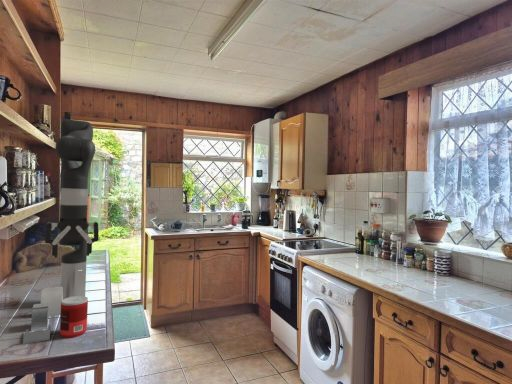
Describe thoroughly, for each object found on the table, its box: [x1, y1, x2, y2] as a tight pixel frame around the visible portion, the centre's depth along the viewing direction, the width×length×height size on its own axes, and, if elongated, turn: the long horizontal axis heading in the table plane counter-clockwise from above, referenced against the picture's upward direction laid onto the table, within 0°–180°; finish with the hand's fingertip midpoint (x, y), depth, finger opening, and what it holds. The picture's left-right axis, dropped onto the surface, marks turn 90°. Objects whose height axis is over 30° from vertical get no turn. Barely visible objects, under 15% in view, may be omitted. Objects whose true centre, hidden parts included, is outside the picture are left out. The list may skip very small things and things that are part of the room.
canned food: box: [59, 296, 89, 339], centre depth 110 cm, size 8×8×11 cm
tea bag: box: [40, 286, 63, 317], centre depth 126 cm, size 4×7×10 cm, turn 115°
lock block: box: [30, 303, 49, 332], centre depth 115 cm, size 6×5×7 cm
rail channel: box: [22, 325, 52, 345], centre depth 107 cm, size 9×7×3 cm
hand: (72, 256), depth 103 cm, fingers open, 8 cm apart
